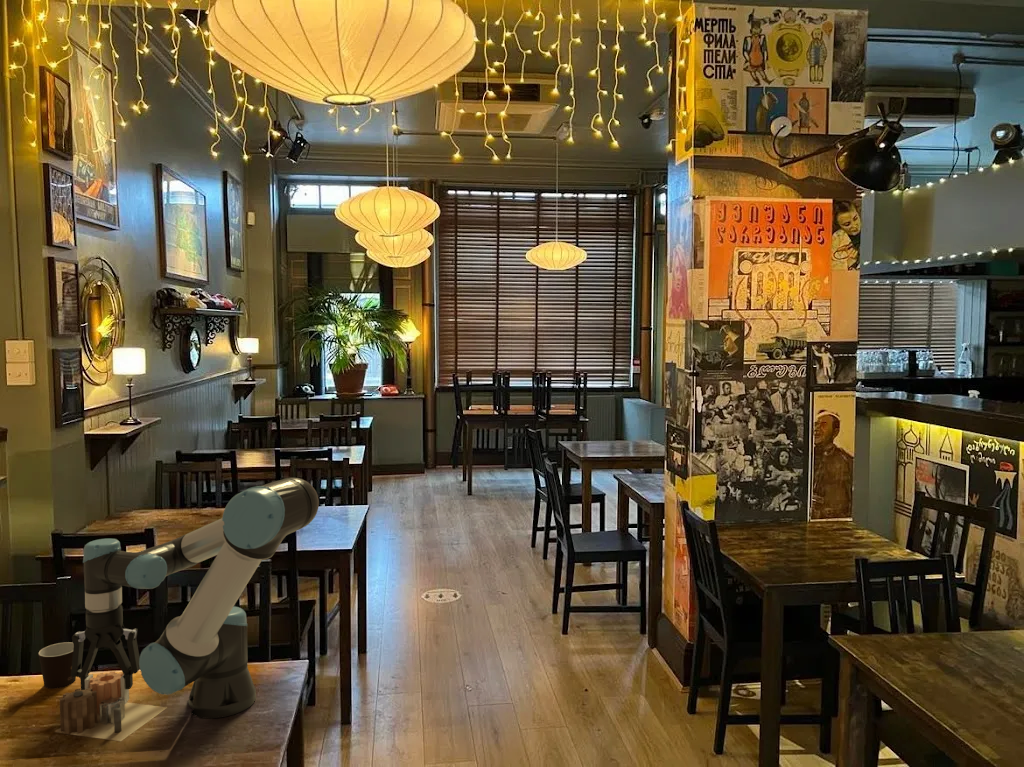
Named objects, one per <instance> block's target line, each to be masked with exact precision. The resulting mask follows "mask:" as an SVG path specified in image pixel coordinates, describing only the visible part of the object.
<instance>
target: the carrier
mask: <svg viewBox="0 0 1024 767" xmlns="http://www.w3.org/2000/svg"><path fill="white" fill-rule="evenodd" d="M166 709H168V707H167V706H157V705H151V704H143V703H136V702H135V703H134V702H129V701H127V703H126V704H125V717H124V718H123V720H122V721H121V708H115V709H114V724H111V723H108V724H107V725H103V723H100V715H99V713H97V717H98V723H95V727H94V728H92V729H86V730H83V733H79V734H77V732H72V733H70V734H69V735H73V736H79V737H85V738H87V737H88V738H93V739H100V740H109V741H115V742H122V741H124V740H125V739H127V737H129V736H131V735H132V734H134V733H135V732H136V731H138V729H141V728H142V727H143V726H145V724H147V723H149V722H150V721H151V720H153V718H156V717H157V716H158V715H159V714H161V713H162V712H164V711H165V710H166ZM54 733H57V734H58V733H59V734H65V732H64V731H61V727H59V728H58V729H56V730H54Z"/></svg>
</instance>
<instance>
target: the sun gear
mask: <svg viewBox="0 0 1024 767" xmlns="http://www.w3.org/2000/svg"><path fill="white" fill-rule="evenodd" d="M115 708H121V721H122V720H123V718H124V717H125V706H124V699H122V697H117V698H113V697H112V698H109V700H103V701H102V702H101V704H100V723H103V725H107V724H108V723H111V724H114V709H115Z"/></svg>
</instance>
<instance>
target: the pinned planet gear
mask: <svg viewBox="0 0 1024 767" xmlns="http://www.w3.org/2000/svg"><path fill="white" fill-rule="evenodd" d="M59 715H60V716H59V717H60V723H59V724H60V728H61V731H64V732H65V733H64V735H71V734H70V733H72V732H77V734H79V733H83V730H86V729H92V728H94V727H95V723H98V717H97V692H96V691H93V688H87V689H86V690H81V688H77V689H74V691H72V692H65V693H64V694H62V697H61V698H59Z"/></svg>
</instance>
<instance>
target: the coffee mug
mask: <svg viewBox="0 0 1024 767" xmlns="http://www.w3.org/2000/svg"><path fill="white" fill-rule="evenodd" d="M73 648H74V644H73V641H72V642H69V641H68V642H67V641H66V642H58V643H54V644H50V645H48V646H45V647H43V648H41V649H40V650H39V652H38V658H39V664H40V668H41V670H40V671H41V675H42V680H43V685H44V686H43V687H44V688H45V689H49V690H53V689H55V690H56V689H62V688H65V687H68V686H71V685H72V684H74V683H75V682H76V678H77V677H76V676H75V677H72V676H71V669H72V659H73Z"/></svg>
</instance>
